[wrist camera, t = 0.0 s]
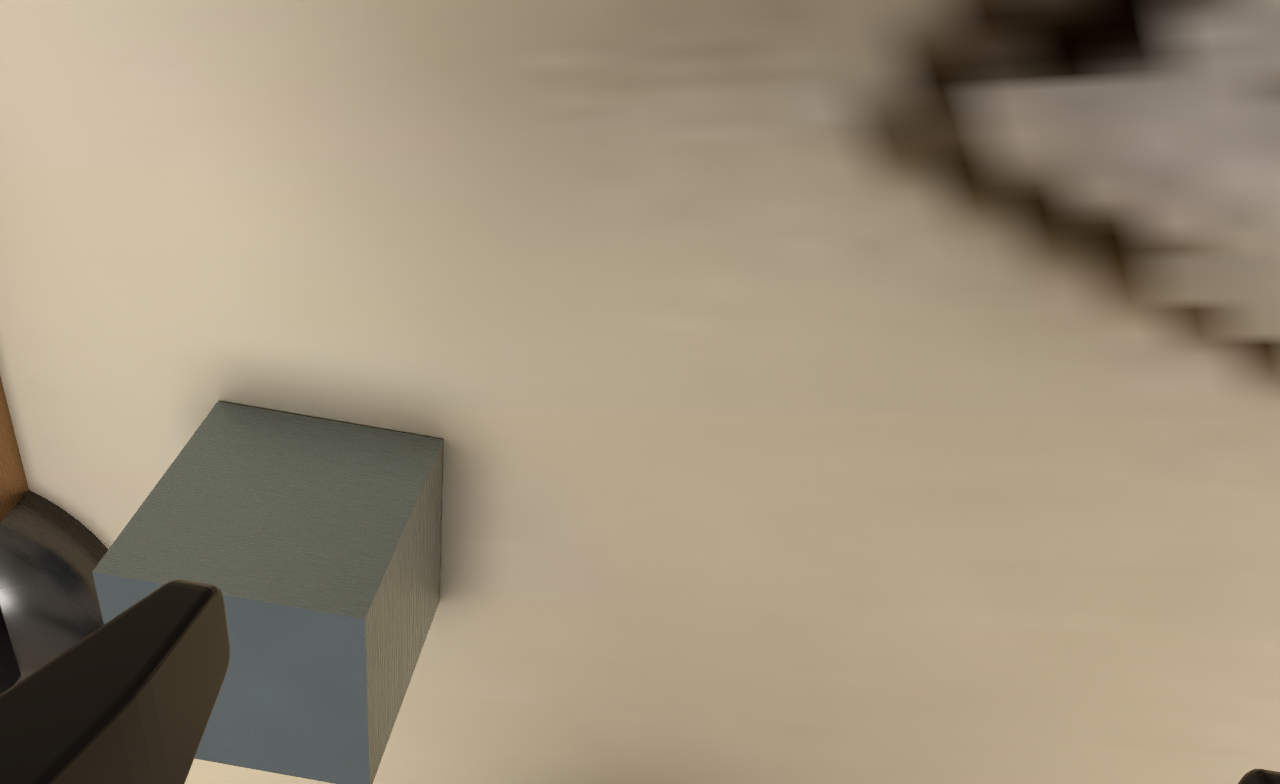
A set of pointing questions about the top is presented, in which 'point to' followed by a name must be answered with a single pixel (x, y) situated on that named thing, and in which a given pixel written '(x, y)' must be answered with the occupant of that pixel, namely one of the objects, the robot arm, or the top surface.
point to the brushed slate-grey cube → (297, 580)
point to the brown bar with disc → (40, 571)
